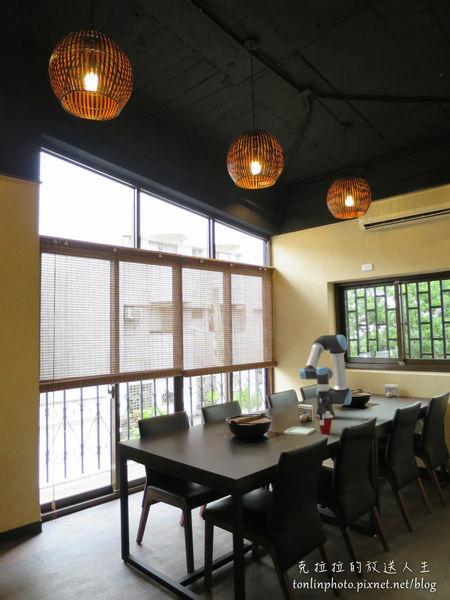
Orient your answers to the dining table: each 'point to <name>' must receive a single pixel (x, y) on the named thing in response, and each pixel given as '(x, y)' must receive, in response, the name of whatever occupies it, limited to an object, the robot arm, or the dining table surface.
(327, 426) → the plastic cup
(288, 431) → the tray
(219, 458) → the dining table surface
